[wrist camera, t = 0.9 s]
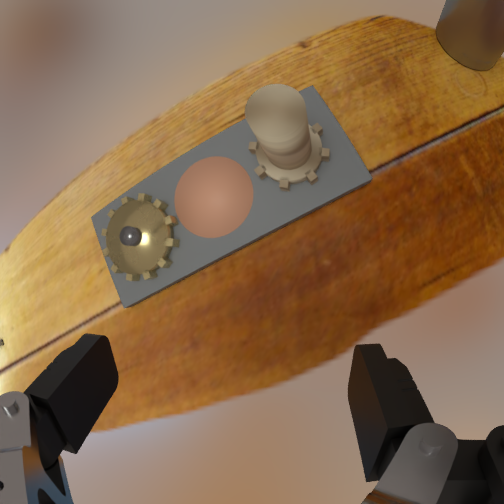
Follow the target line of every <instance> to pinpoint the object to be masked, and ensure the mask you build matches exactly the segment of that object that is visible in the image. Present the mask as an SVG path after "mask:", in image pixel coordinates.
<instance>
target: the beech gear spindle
mask: <svg viewBox="0 0 504 504" xmlns="http://www.w3.org/2000/svg"><path fill="white" fill-rule="evenodd" d="M245 117H246V120H247V122H248V124H249V126H250V128H251V129H252V131H253V133H254V135H255V136H256V138H257V142H249V148H248V149H249V151H250V152H251V154H255V155H256V157H257V160H258V163H259V166H258V167H257V168H255V169H254V171H255V172H256V173H257V175H258V176H259V177H260V178H261V180H263V179H264V178H265V177H267V176H269V177H270V178H271V179H273V180H274V181H276V182H279V183H280V184H279V188H280V189H281V191H290V184H298V183H301V182H304V181H306V180H308V182H309V183H310V184H311V185H313V184H314V183H316V182H317V181H318V176H317V175H316V174H315V173H316V172H317V170H318V169H319V167H320V164H321V161H327V162H329V156H330V149H328V148H322V143H321V139H320V136H322V135H323V128H322V127H321V126H320V125H319V124H318V123H316V124H315V125H313V126H310V125H309V124H308V118H307V111H306V105H305V101H304V99H303V97H302V96H301V94H300V93H299V92H298V91H297V90H295V89H294V88H292V87H290V86H287V85H283V84H271V85H267V86H264V87H262V88H260V89H258V90H257V91H256V92H254V93H253V94H252V95H251V97H250V98H249V99H248V101H247V104H246V107H245Z"/></svg>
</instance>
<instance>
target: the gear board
mask: <svg viewBox="0 0 504 504" xmlns="http://www.w3.org/2000/svg"><path fill="white" fill-rule="evenodd" d="M299 93H300V94H301V96H302V97H303V99H304V101H305V105H306V111H307V118H308V124H309V125H310V126H313V125H315V124H316V123H318V124H319V125H320V126H321V127H322V128H323V135H322V136H320V139H321V143H322V148H328V149H330V156H329V162H327V161H321V164H320V167H319V169H318V170H317V172H316V173H315V174H316V175H317V176H318V181H317V182H316V183H314V184H313V185H311V184H310V183H309V182H308V180H306V181H304V182H301V183H298V184H290V191H281V189H280V188H279V184H280V183H279V182H276V181H274V180H273V179H271V178H270V177H269V176H267V177H265V178H264V179H263V180H261V178H260V177H259V176H258V175H257V173H256V172H255V171H254V169H255V168H257V167H258V166H259V163H258V160H257V157H256V155H255V154H251V152H250V151H249V149H248V148H249V142H257V138H256V136H255V135H254V133H253V131H252V129H251V128H250V126H249V124H248V122H247V120H246V119H244V120H242V121H240V122H238V123H236V124H235V125H233V126H231V127H229V128H227V129H226V130H224V131H222V132H220V133H219V134H217V135H215V136H213V137H212V138H210V139H208V140H206V141H205V142H203V143H201V144H200V145H198V146H196V147H195V148H193V149H191V150H190V151H188V152H186V153H185V154H183V155H181V156H180V157H178V158H177V159H175V160H173V161H172V162H170V163H169V164H167V165H166V166H164V167H162V168H161V169H159V170H158V171H156V172H155V173H153V174H152V175H150V176H149V177H147V178H146V179H144V180H143V181H141V182H140V183H138V184H137V185H135V186H134V187H132V188H131V189H129V190H128V191H127V192H125V193H124V194H122V195H121V196H119V197H118V198H117V199H115V200H114V201H112V202H111V203H110V204H108V205H107V206H106V207H104V208H103V209H101V210H100V211H99V212H97V213H96V214H95V215H93V216H92V217H91V218H92V222H93V225H94V228H95V231H96V234H97V237H98V240H99V243H100V246H101V249H102V250H103V249H105V248H107V247H106V236H102V235H101V234H102V228H103V229H107V227H108V224H109V222H110V219H111V218H110V217H109V216H108V215H107V214H108V213H109V211H110V210H111V209H113V210H117V209H118V208H119V207H121V206H122V202H121V199H122V198H124V197H126V196H127V197H130V198H133V199H134V200H138V194H139V193H144V194H147V195H150V196H152V200H151V203H154V202H155V200H156V199H159V200H162V201H164V202H165V203H166V204H168V205H169V206H168V207H167V208H166V210H165V212H166V213H167V214H168V216H169V215H171V216H174V217H176V218H177V221H178V225H176V226H174V227H173V230H174V239H178V240H180V243H179V247H173V248H172V251H171V253H170V255H169V257H168V258H169V259H170V260H171V261H173V263H172V264H171V266H170V267H169V268H161V267H160V268H159V269H158V270H156V273H157V276H158V277H157V278H154V279H152V280H144V277H143V274H140V281H128V280H126V273H125V272H123V273H114V272H113V271H112V270H111V267H112V265H113V264H114V263H113V262H112V260H111V259H110V257H105V260H106V263H107V266H108V268H109V271H110V274H111V277H112V279H113V282H114V284H115V287H116V289H117V292H118V295H119V297H120V300H121V302H122V304H123V307H124V308H128V307H132V306H134V305H136V304H138V303H140V302H141V301H143V300H145V299H147V298H149V297H151V296H153V295H155V294H157V293H158V292H160V291H162V290H164V289H166V288H168V287H170V286H172V285H174V284H176V283H177V282H179V281H181V280H183V279H185V278H187V277H189V276H191V275H193V274H195V273H196V272H198V271H200V270H202V269H204V268H206V267H208V266H210V265H212V264H214V263H215V262H217V261H219V260H221V259H223V258H225V257H227V256H229V255H231V254H233V253H235V252H237V251H238V250H240V249H242V248H244V247H246V246H248V245H250V244H252V243H254V242H256V241H258V240H260V239H261V238H263V237H265V236H267V235H269V234H271V233H273V232H275V231H277V230H279V229H281V228H283V227H285V226H287V225H288V224H290V223H292V222H294V221H296V220H298V219H300V218H302V217H304V216H306V215H308V214H310V213H312V212H314V211H316V210H317V209H319V208H321V207H323V206H325V205H327V204H329V203H331V202H333V201H335V200H337V199H339V198H341V197H343V196H345V195H347V194H349V193H350V192H352V191H354V190H356V189H358V188H360V187H362V186H364V185H366V184H368V183H370V182H371V180H372V179H373V178H372V177H371V175H370V173H369V171H368V170H367V168H366V166H365V165H364V163H363V161H362V159H361V158H360V156H359V154H358V153H357V151H356V150H355V148H354V146H353V145H352V143H351V142H350V140H349V138H348V137H347V135H346V134H345V132H344V131H343V129H342V127H341V126H340V124H339V123H338V121H337V120H336V118H335V117H334V115H333V114H332V112H331V111H330V109H329V108H328V106H327V105H326V104H325V102H324V101H323V99H322V98H321V96H320V95H319V94H318V92H317V91H316V89H315V88H314V87H313V85H312V86H310V87H308V88H305V89H303V90H301V91H299Z"/></svg>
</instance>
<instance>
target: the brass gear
mask: <svg viewBox="0 0 504 504" xmlns="http://www.w3.org/2000/svg"><path fill="white" fill-rule="evenodd" d="M151 200H152V196H150V195H147V194H144V193H139V194H138V200H134V199H133V198H130V197H127V196H126V197H124V198H122V199H121V202H122V206H121V207H119V208H118V209H117V210H113V209H111V210H110V211H109V213H108V214H107V215H108V216H109V217H110V218H111V219H110V222H109V224H108V227H107V229H103V228H102V234H101V235H102V236H106V247H107V248H105V249H103V250H102V252H103V255H104V257H110V259H111V260H112V262H113V263H114V264H113V265H112V267H111V270H112V271H113V272H114V273H123V272H125V273H126V280H128V281H140V274H143V277H144V280H152V279H154V278H157V277H158V276H157V273H156V270H158V269H159V268H160V267H161V268H169V267H170V266H171V264H172V263H173V261H171V260H170V259H169V258H168V257H169V255H170V253H171V251H172V248H173V247H179V243H180V240H178V239H174V230H173V227H174V226H176V225H178V221H177V218H176V217H174V216H171V215H169V216H168V214H167V213H166V212H165V210H166V208H167V207H168V206H169V205H168V204H166V203H165V202H164V201H162V200H159V199H156V200H155V202H154V203H151Z"/></svg>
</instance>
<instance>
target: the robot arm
mask: <svg viewBox="0 0 504 504" xmlns="http://www.w3.org/2000/svg"><path fill="white" fill-rule="evenodd" d="M436 35H437V38H438V40H439V42H440V44H441V46H442V47H443V48H444V49H445V51H446V52H447V53H448V54H449V55H450V56H451V57H453V58H454V59H455V60H457V61H458V62H459V63H461V64H463V65H465V66H467V67H469V68H472V69H475V70H489V69H490V68H492V67H493V66H494V65H495V63H496V62H497V60H498V59H499V58H500V56H501V55H502V54H503V52H504V0H446V3H445V5H444V8H443V10H442V13H441V16H440V19H439V21H438V24H437V27H436ZM412 379H413V378H412V376H411V374H410V372H409V370H408V368H407V367H406V366H405V365H404V364H402V363H401V362H400V361H399V360H398V359H396V358H391V359H387V357H386V354H385V352H384V350H383V348H382V346H381V345H380V344H363V345H356V346H355V349H354V354H353V360H352V367H351V372H350V378H349V383H348V401H349V405H350V409H351V414H352V418H353V422H354V426H355V431H356V435H357V440H358V445H359V449H360V454H361V458H362V464H363V468H364V473H365V478H366V482H371V481H377V480H378V481H379V482H378V483H377V485H376V487H375V488H374V489H373V491H372V492H371V493H369V494H368V495H367V497H366V498H365V499H364V501H363V502H362V503H361V504H504V425H502V426H498V427H496V428H494V429H493V430H492V431H491V432H490V433H489V435H488V437H487V438H486V440H460V439H457V438H456V436H455V434H454V433H453V432H452V431H451V430H450V429H448V428H447V427H445V426H443V425H440V424H436V423H434V421H433V418H432V416H431V414H430V412H429V410H428V408H427V406H426V404H425V402H424V400H423V398H422V396H421V394H420V392H419V390H417V386H416V384H415V382H414V381H413V380H412ZM117 385H118V371H117V368H116V364H115V361H114V357H113V353H112V350H111V346H110V342H109V340H108V338H107V337H106V336H103V335H95V334H88V333H86V334H84V335H83V336H82V337H81V338H80V339H79V340H78V341H77V342H76V343H75V344H74V345H73V346H71V347H69V348H67V349H66V350H64V351H62V352H61V353H60V354H59V355H58V356H57V357H56V358H55V359H54V360H53V363H52V362H51V363H50V364H49V365H48V367H47V369H46V370H44V371H43V372H42V373H41V374H40V375H39V376H38V377H37V378H36V379H35V381H34V382H33V383H32V384H31V385H30V386H29V387H28V388H27V389H26V390H25V392H24V393H21V392H17V391H13V392H8V393H5V394H3V395H1V396H0V504H74V503H73V500H72V497H71V493H70V489H69V485H68V481H67V477H66V472H65V468H64V463H63V459H62V458H61V456H60V454H61V452H62V450H65V451H69V452H71V453H74V454H77V452H78V450H79V449H80V447H81V446H82V444H83V442H84V441H85V439H86V437H87V436H88V434H89V432H90V431H91V429H92V427H93V426H94V424H95V422H96V421H97V419H98V418H99V416H100V414H101V413H102V411H103V409H104V408H105V406H106V405H107V403H108V401H109V400H110V398H111V397H112V395H113V393H114V392H115V390H116V388H117Z"/></svg>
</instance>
